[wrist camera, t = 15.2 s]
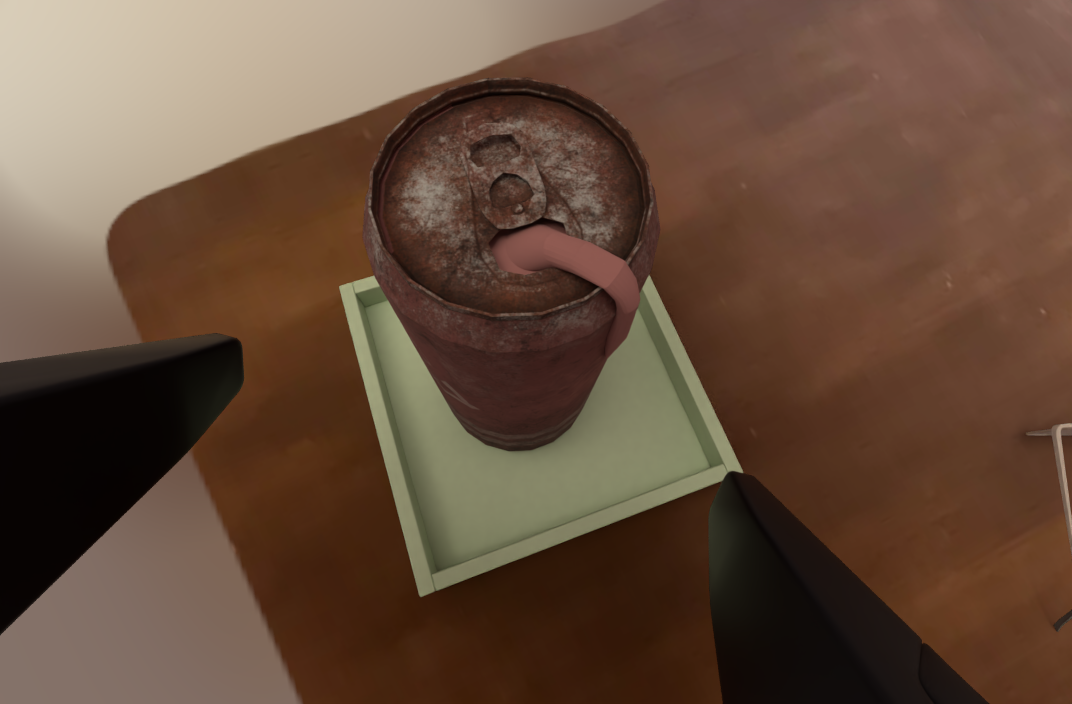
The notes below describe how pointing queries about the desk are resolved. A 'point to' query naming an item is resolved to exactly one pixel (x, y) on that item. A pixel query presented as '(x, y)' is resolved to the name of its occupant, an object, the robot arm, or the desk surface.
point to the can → (512, 249)
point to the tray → (540, 474)
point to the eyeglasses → (1056, 436)
